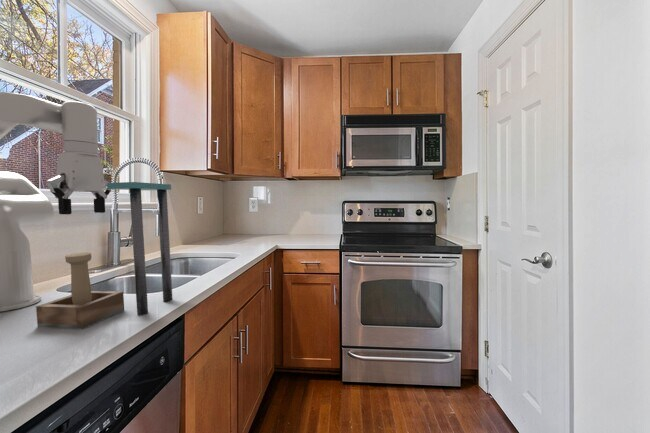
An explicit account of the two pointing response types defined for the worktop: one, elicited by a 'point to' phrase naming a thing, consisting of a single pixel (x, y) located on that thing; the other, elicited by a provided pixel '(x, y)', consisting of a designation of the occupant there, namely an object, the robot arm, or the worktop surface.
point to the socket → (79, 311)
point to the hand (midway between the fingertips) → (83, 213)
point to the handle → (80, 278)
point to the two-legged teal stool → (139, 239)
